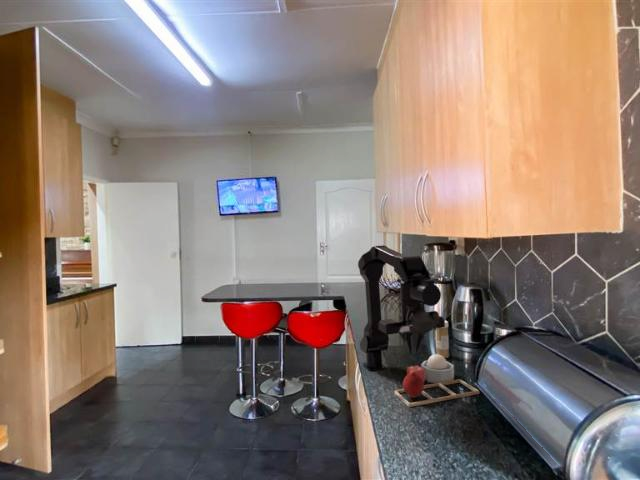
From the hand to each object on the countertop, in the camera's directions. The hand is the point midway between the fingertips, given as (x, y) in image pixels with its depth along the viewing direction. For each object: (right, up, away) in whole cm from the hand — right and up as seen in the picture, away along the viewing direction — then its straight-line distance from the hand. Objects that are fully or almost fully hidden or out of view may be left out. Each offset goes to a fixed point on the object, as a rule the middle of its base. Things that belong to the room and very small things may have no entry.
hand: (412, 353), depth 106 cm
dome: (+12, -11, +14) cm, 21 cm away
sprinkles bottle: (+20, -11, +32) cm, 39 cm away
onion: (0, -13, 0) cm, 13 cm away
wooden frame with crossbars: (+8, -13, +2) cm, 15 cm away
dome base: (+9, -12, +13) cm, 20 cm away
